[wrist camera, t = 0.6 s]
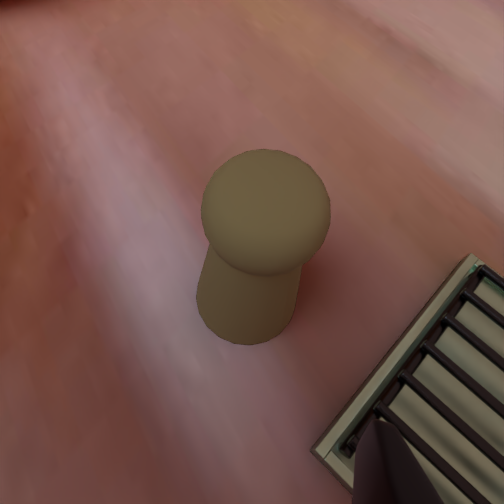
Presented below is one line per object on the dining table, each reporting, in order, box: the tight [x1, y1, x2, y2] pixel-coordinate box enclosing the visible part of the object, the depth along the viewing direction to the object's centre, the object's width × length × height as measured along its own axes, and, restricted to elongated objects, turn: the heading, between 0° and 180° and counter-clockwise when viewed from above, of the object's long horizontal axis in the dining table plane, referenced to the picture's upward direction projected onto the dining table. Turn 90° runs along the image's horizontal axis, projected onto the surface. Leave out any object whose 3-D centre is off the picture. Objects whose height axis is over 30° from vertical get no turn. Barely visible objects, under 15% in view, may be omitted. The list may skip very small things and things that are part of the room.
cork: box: [196, 149, 331, 345], centre depth 20 cm, size 6×6×11 cm
